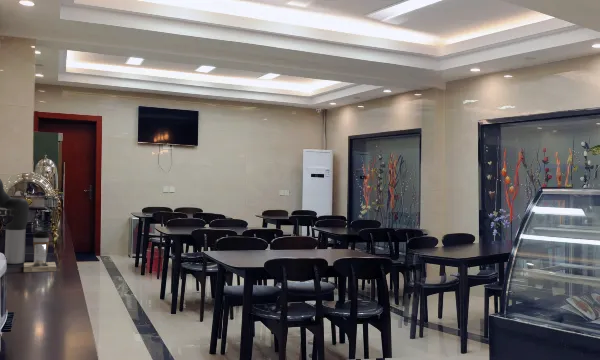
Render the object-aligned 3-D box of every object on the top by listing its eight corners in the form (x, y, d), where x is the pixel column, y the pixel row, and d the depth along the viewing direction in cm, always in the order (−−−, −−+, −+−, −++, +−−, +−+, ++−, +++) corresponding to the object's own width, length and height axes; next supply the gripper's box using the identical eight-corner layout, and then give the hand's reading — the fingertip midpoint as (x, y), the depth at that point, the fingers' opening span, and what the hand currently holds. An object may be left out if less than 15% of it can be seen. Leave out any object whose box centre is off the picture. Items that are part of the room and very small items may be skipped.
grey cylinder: (35, 270, 273) (36, 245, 273) (32, 269, 277) (33, 244, 277) (47, 269, 276) (48, 245, 277) (44, 268, 280) (45, 244, 281)
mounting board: (23, 266, 284) (24, 262, 284) (54, 266, 290) (54, 262, 290) (23, 272, 267) (23, 267, 267) (56, 271, 273) (56, 267, 273)
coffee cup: (51, 259, 312) (52, 232, 313) (43, 261, 304) (44, 233, 304) (37, 259, 313) (38, 231, 313) (28, 260, 305) (29, 232, 305)
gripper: (-18, 204, 254) (21, 204, 265) (-25, 202, 265) (13, 203, 275) (-19, 221, 254) (21, 220, 264) (-26, 219, 265) (12, 218, 275)
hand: (17, 211), depth 270 cm, fingers open, 8 cm apart
